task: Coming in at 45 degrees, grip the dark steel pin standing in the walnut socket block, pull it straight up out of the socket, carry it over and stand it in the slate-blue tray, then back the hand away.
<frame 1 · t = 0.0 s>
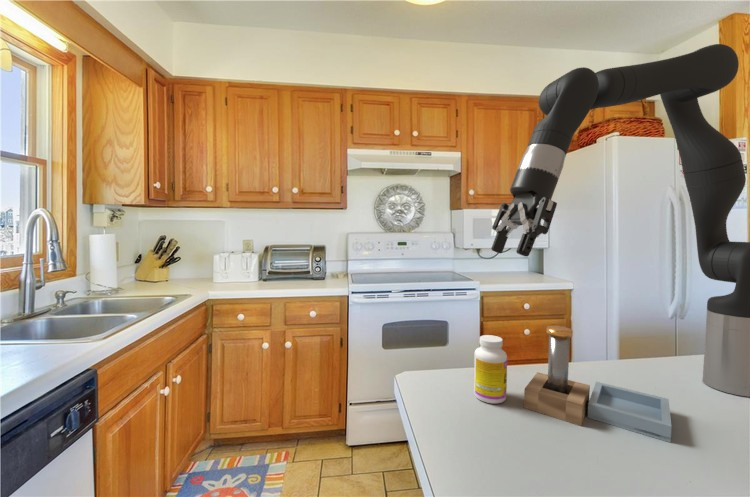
hand: (508, 253, 65), 31 cm above the counter, tool tilted 20°, fingers open, 8 cm apart
supplement bottle: (489, 397, 73), on the counter
pin: (556, 406, 69), resting in socket block
socket block: (556, 405, 69), on the counter
tray: (628, 415, 66), on the counter
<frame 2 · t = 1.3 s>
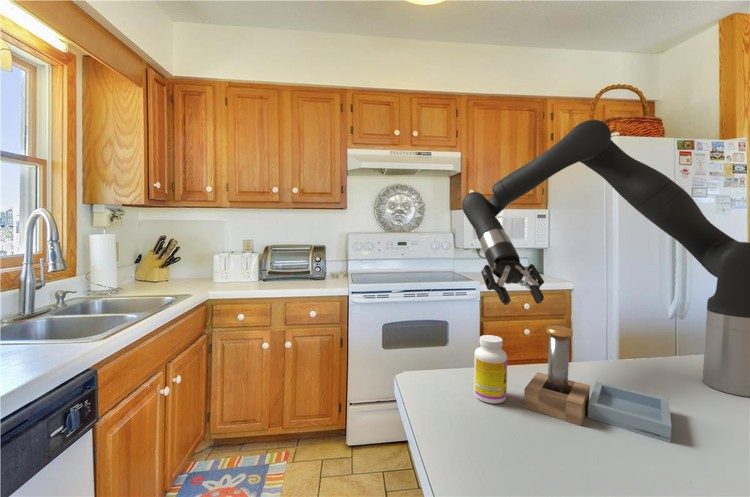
hand: (524, 302, 79), 19 cm above the counter, tool tilted 45°, fingers open, 8 cm apart
nothing on the counter moved.
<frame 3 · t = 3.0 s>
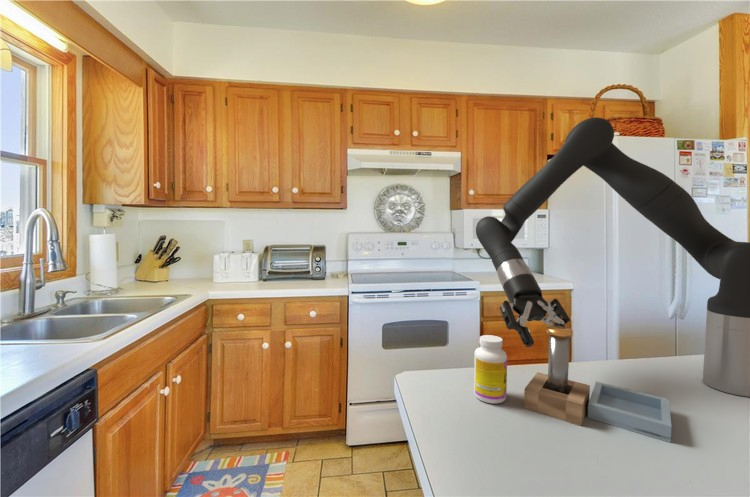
hand: (549, 344, 71), 12 cm above the counter, tool tilted 45°, fingers open, 8 cm apart
nothing on the counter moved.
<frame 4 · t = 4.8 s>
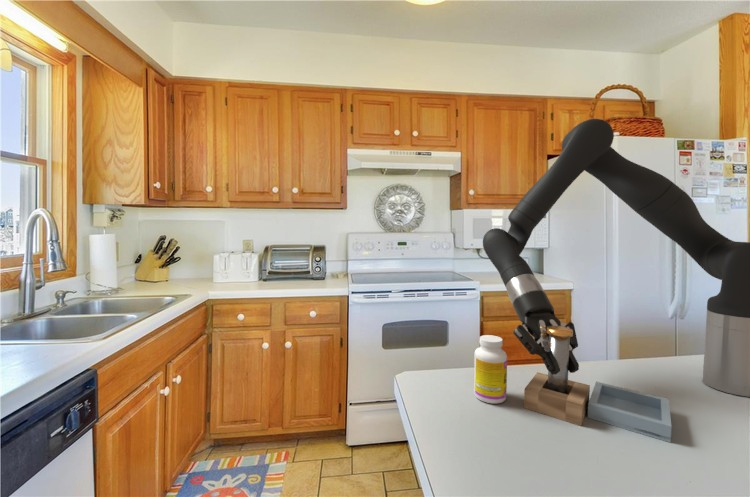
hand: (565, 371, 67), 8 cm above the counter, tool tilted 45°, fingers closed on pin, 3 cm apart
pin: (556, 405, 69), resting in socket block, touching gripper
everything else where it was.
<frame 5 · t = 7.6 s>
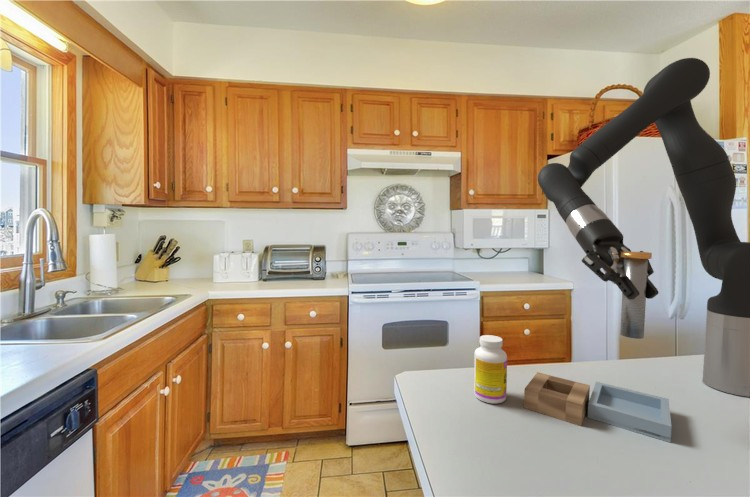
hand: (644, 296, 62), 24 cm above the counter, tool tilted 45°, fingers closed on pin, 3 cm apart
pin: (631, 335, 65), point 16 cm above the counter, touching gripper
everything else where it was.
when the fingers open (10 cm above the counter, at t = 10.4 s): pin drops 2 cm, resting on tray.
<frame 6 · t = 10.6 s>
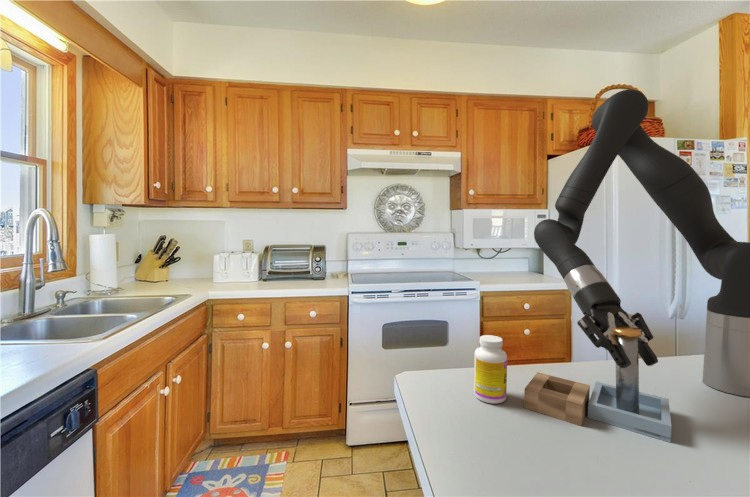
hand: (639, 364, 63), 11 cm above the counter, tool tilted 45°, fingers open, 5 cm apart
pin: (627, 410, 66), point 1 cm above the counter, touching tray
everything else where it was.
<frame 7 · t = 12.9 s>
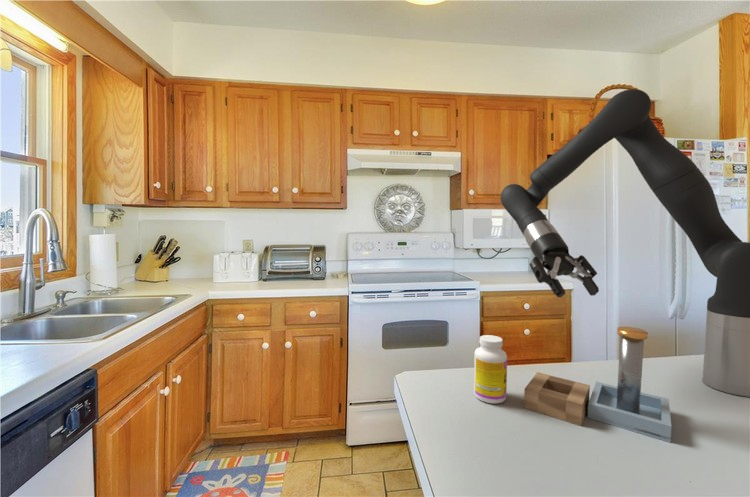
hand: (578, 294, 76), 21 cm above the counter, tool tilted 45°, fingers open, 8 cm apart
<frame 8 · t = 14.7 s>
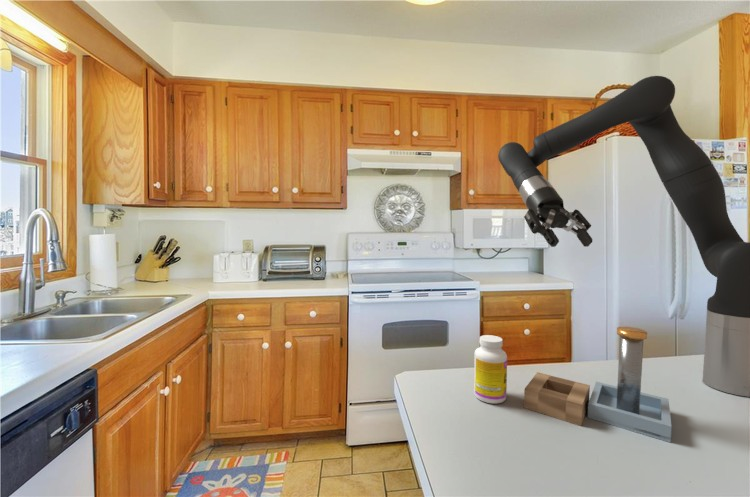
hand: (572, 244, 76), 33 cm above the counter, tool tilted 45°, fingers open, 8 cm apart
nothing on the counter moved.
at the end: pin inside the target area on the tray (0.1 cm from its centre), point 0.9 cm above the tray's base; the gripper is holding nothing; pin touching tray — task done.
